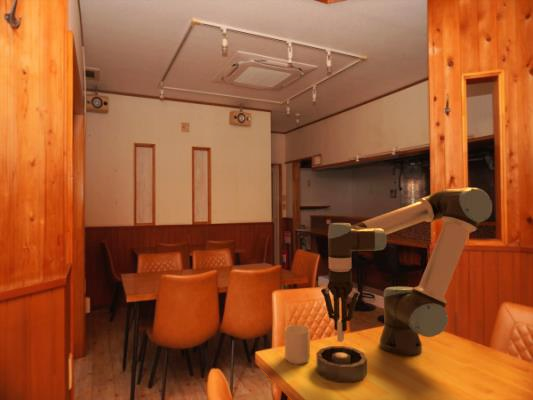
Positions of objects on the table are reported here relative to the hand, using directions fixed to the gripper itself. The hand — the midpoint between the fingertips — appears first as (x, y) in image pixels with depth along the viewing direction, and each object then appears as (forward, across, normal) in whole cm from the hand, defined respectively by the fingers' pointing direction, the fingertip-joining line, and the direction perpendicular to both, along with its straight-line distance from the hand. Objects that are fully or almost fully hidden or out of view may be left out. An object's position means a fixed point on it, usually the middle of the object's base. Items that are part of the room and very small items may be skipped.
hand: (340, 340), depth 121 cm
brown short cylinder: (+10, 0, 0) cm, 10 cm away
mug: (+11, +17, -3) cm, 20 cm away
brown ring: (+10, 0, 0) cm, 10 cm away
